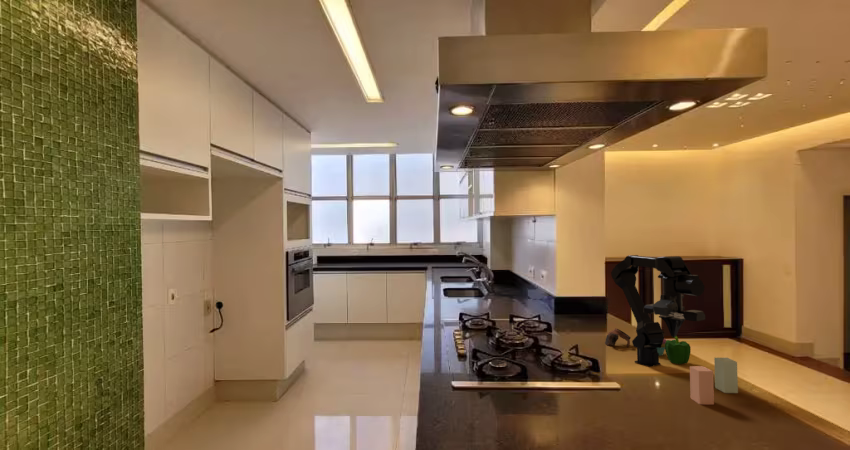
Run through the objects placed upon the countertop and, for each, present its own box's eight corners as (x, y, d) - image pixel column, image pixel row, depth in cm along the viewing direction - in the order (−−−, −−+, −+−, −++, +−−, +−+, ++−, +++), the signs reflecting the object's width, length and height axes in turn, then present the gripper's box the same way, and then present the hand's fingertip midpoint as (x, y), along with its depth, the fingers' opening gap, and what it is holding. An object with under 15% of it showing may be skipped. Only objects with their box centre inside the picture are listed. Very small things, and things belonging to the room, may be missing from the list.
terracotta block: (690, 398, 126) (689, 366, 126) (704, 398, 125) (703, 366, 126) (699, 404, 121) (698, 371, 121) (713, 404, 121) (713, 371, 121)
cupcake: (643, 350, 177) (642, 321, 177) (666, 351, 174) (665, 322, 174) (646, 356, 169) (646, 326, 169) (670, 357, 166) (670, 327, 166)
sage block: (715, 387, 134) (714, 357, 134) (728, 387, 134) (727, 357, 134) (724, 392, 129) (723, 361, 130) (737, 393, 129) (737, 361, 129)
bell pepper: (693, 367, 155) (693, 339, 155) (668, 365, 157) (667, 338, 157) (687, 360, 163) (686, 334, 163) (663, 358, 165) (662, 333, 165)
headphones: (606, 342, 192) (616, 327, 191) (626, 355, 186) (636, 339, 185) (597, 340, 184) (607, 324, 183) (617, 354, 177) (628, 337, 176)
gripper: (633, 290, 152) (634, 334, 152) (686, 297, 135) (687, 346, 135) (652, 288, 157) (653, 330, 157) (705, 294, 141) (706, 341, 140)
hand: (673, 336), depth 147 cm, fingers closed
